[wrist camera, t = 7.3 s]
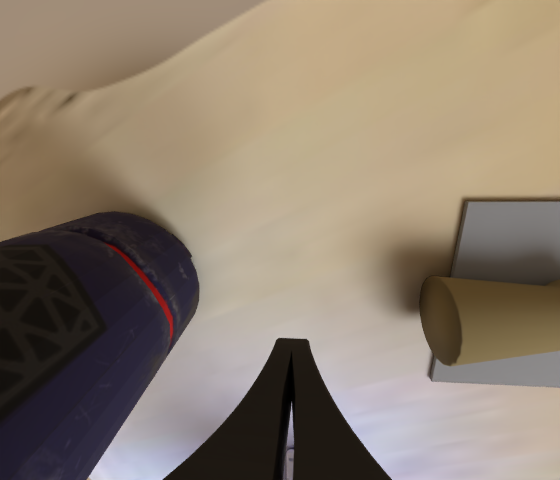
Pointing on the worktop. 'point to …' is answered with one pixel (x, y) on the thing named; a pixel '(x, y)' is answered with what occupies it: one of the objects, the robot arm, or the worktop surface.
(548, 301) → the cork
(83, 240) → the grenade
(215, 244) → the worktop surface
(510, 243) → the mat
